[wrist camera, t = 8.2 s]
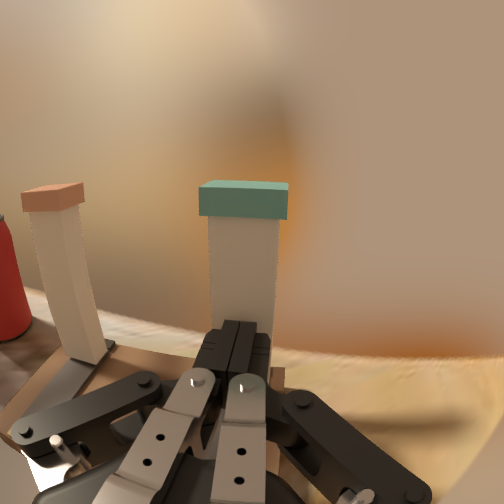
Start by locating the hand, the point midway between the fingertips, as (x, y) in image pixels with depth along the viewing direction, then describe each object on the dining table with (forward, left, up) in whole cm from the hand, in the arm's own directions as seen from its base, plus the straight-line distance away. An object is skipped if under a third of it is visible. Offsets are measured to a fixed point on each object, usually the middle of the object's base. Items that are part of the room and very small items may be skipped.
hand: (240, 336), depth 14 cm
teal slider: (0, +2, -5) cm, 6 cm away
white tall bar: (-12, +2, -5) cm, 13 cm away
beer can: (-26, +5, -8) cm, 28 cm away
